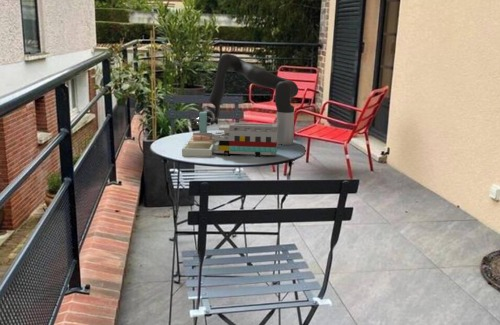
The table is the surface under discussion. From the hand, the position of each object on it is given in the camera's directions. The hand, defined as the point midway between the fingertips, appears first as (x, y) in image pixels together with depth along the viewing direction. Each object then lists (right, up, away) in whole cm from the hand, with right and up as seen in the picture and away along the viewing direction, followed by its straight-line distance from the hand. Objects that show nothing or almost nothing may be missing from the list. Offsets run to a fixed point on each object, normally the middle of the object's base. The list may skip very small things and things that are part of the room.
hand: (203, 123), depth 258 cm
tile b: (-3, -9, -4) cm, 10 cm away
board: (0, -12, -2) cm, 13 cm away
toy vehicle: (+22, -17, -17) cm, 33 cm away
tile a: (+2, -9, -5) cm, 10 cm away
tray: (-1, -16, -16) cm, 23 cm away
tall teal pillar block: (0, -7, +2) cm, 8 cm away
